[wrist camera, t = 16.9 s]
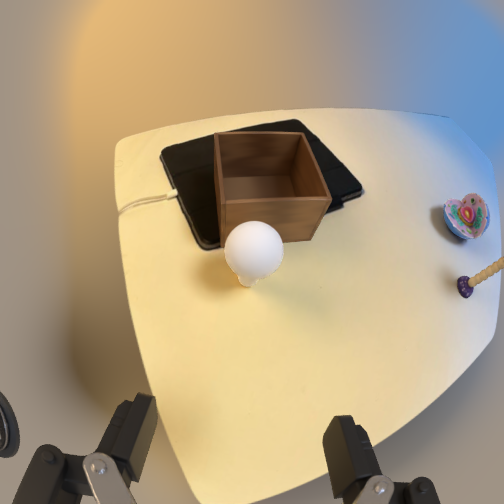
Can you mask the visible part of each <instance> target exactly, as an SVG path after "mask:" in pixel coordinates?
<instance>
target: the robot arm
mask: <svg viewBox="0 0 504 504" xmlns="http://www.w3.org/2000/svg"><path fill="white" fill-rule="evenodd" d="M157 419H158V416H157V407H156V399H155V396H151V395H147V394H144V393H140V392H139V393H138V394H137V395H136V397H135V399H134V401H133V402H131V401H128V400H125V401H124V402H123V403H121V404H120V405H119V406H118V407H117V409H116V411H115V413H114V415H113V417H112V419H111V421H110V424H109V425H108V427H107V429H106V431H105V433H104V436H103V437H102V440H101V442H100V444H99V446H98V448H97V449H96V451H95V452H93V453H91V454H89V455H86V456H77V455H70V454H64V453H62V452H61V450H60V449H58V448H57V447H55V446H53V445H50V444H45V445H42V446H40V447H39V448H38V449H37V450H36V452H35V454H34V456H33V458H32V460H31V462H30V464H29V466H28V468H27V470H26V472H25V475H24V477H23V479H22V481H21V484H20V486H19V488H18V491H17V493H16V495H15V498H14V500H13V503H12V504H80V502H81V498H82V495H88V496H94V498H95V500H96V503H97V504H137V503H136V501H135V499H134V497H133V496H132V494H131V492H130V490H129V487H130V484H131V481H135V482H139V479H140V476H141V473H142V470H143V466H144V463H145V460H146V457H147V454H148V451H149V448H150V444H151V441H152V438H153V435H154V432H155V429H156V425H157ZM9 443H10V428H9V423H8V420H7V417H6V414H5V412H4V410H3V408H2V406H1V404H0V450H5V449H6V448H7V447H8V445H9ZM323 448H324V453H325V457H326V462H327V467H328V471H329V476H330V481H331V485H332V490H333V495H334V499H337V498H343V503H342V504H440V501H439V498H438V496H437V493H436V490H435V487H434V485H433V482H432V481H431V480H430V479H428V478H426V477H418V478H416V479H414V480H413V481H412V482H411V483H404V482H403V483H401V482H393V481H392V480H391V479H390V478H388V477H386V476H384V475H383V474H382V473H381V470H380V467H379V464H378V462H377V459H376V456H375V453H374V451H373V449H372V445H371V442H370V440H369V437H368V434H367V432H366V431H365V430H364V429H363V428H362V426H361V425H355V423H354V420H353V417H352V416H351V415H343V416H334V418H333V419H332V421H331V423H330V424H329V426H328V428H327V430H326V431H325V433H324V435H323Z"/></svg>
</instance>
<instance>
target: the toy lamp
mask: <svg viewBox="0 0 504 504" xmlns="http://www.w3.org/2000/svg"><path fill="white" fill-rule="evenodd" d="M503 268H504V257H501V258H500V259H499V260H498V261H496V262H494V263H493V264H492V265H490V266H488V267H487V268H486V269H484V270H482V271H481V272H480V273H478V274H476V275H475V276H474V277H471V278H469V277H467V276H461V277H460V278H459V279H458V289H459V291H460V293H461V295H462V296H463V297H465V298H468V297H469V296H470V295H471V294H472V292H473V288H474V286H476V285H477V284H479V283H481V282H482V281H483V280H486V279H487V278H488V277H490V276H492V275H493V274H494V273H497V272H498V271H500V269H503Z"/></svg>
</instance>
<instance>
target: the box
mask: <svg viewBox="0 0 504 504" xmlns="http://www.w3.org/2000/svg"><path fill="white" fill-rule="evenodd" d="M214 182H215V193H216V204H217V214H218V224H219V234H220V243H221V247H225V243H226V240H227V238H228V236H229V234H230V233H231V232H232V230H233V229H234V228H235V227H237V226H238V225H240V224H242V223H245V222H249V221H260V222H263V223H266V224H268V225H270V226H271V227H272V228H274V229H275V230H276V231H277V233H278V234H279V235H280V237H281V240H282V243H283V242H296V241H309V240H311V239H312V237H313V235H314V233H315V231H316V230H317V228H318V226H319V224H320V222H321V220H322V218H323V216H324V214H325V213H326V211H327V209H328V207H329V205H330V203H331V201H332V198H331V195H330V193H329V190H328V188H327V185H326V183H325V180H324V178H323V176H322V173H321V171H320V169H319V166H318V164H317V162H316V159H315V157H314V155H313V153H312V150H311V148H310V146H309V144H308V142H307V139H306V137H305V135H304V133H296V132H220V133H214Z"/></svg>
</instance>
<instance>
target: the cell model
mask: <svg viewBox="0 0 504 504" xmlns="http://www.w3.org/2000/svg"><path fill="white" fill-rule="evenodd" d="M443 214H444V219H445V222H446V224H447V226H448V227H449V229H450V230H451V231H452V232H453V233H454V234H455V235H457V236H459V237H461V238H463V239H475V238H477V237H479V236H480V237H481V236H482V234H483V233H484V232H485V231H486V229H487V228H488V226H489V222H490V213H489V209H488V207H487V204H486V203H485V201H484V200H483V199H482V198H481V197H480V196H479V195H478V194H476V193H470V194H468V195H466V196H465V197H464V198H463V199H462V201H459V200H457V199H448V200H446V202H445V204H444V208H443Z"/></svg>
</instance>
